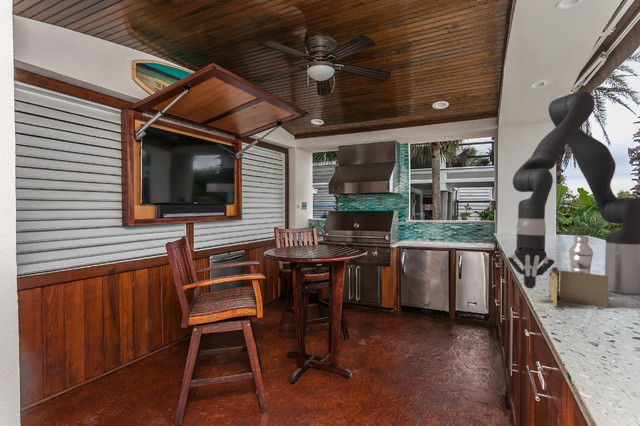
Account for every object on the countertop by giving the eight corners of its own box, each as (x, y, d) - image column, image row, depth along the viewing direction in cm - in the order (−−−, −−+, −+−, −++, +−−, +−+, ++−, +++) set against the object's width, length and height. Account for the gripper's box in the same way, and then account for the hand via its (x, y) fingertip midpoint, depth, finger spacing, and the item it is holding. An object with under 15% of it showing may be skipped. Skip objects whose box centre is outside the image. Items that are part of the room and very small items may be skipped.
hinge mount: (553, 294, 111) (553, 264, 111) (608, 303, 102) (609, 270, 101) (549, 298, 106) (549, 267, 106) (607, 308, 96) (608, 274, 96)
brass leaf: (546, 295, 108) (547, 268, 108) (558, 297, 106) (558, 269, 106) (552, 305, 97) (552, 275, 97) (564, 307, 95) (565, 277, 95)
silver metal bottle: (586, 293, 113) (588, 235, 113) (595, 298, 107) (597, 237, 106) (564, 291, 115) (566, 235, 115) (572, 296, 109) (573, 236, 108)
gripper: (550, 232, 104) (549, 286, 104) (504, 231, 107) (502, 283, 108) (560, 234, 96) (558, 292, 97) (510, 233, 100) (508, 289, 101)
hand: (529, 287), depth 102 cm, fingers closed
